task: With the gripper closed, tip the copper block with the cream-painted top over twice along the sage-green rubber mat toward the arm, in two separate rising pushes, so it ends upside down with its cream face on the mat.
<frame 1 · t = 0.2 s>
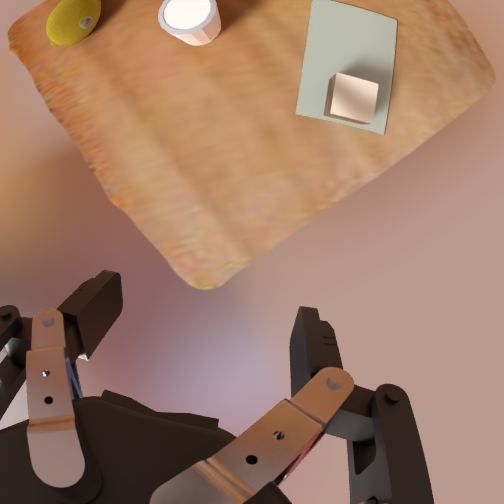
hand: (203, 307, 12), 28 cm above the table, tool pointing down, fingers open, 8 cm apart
copper block: (345, 101, 33), resting on rubber mat
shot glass: (200, 28, 30), on the table
lemon: (89, 23, 29), on the table
rubber mat: (350, 61, 31), on the table
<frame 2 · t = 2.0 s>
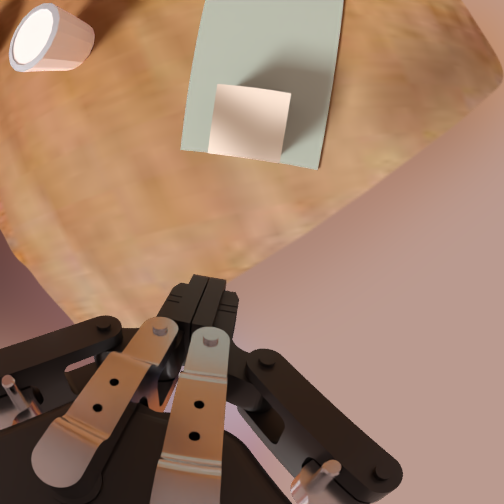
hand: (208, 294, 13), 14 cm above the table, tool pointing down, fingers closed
copper block: (253, 123, 23), resting on rubber mat
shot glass: (74, 46, 20), on the table
rubber mat: (264, 59, 21), on the table
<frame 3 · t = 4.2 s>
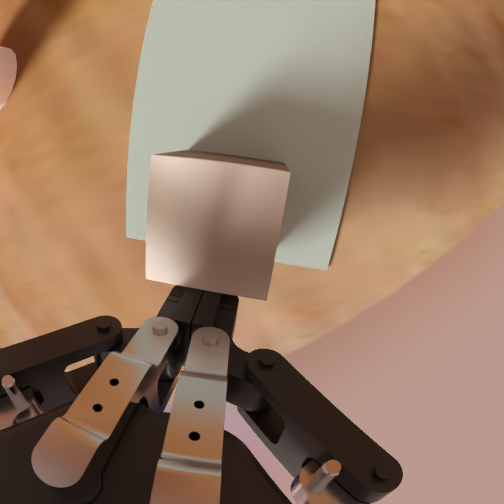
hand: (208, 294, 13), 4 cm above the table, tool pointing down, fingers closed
copper block: (228, 202, 15), resting on rubber mat, touching gripper
rubber mat: (245, 90, 13), on the table
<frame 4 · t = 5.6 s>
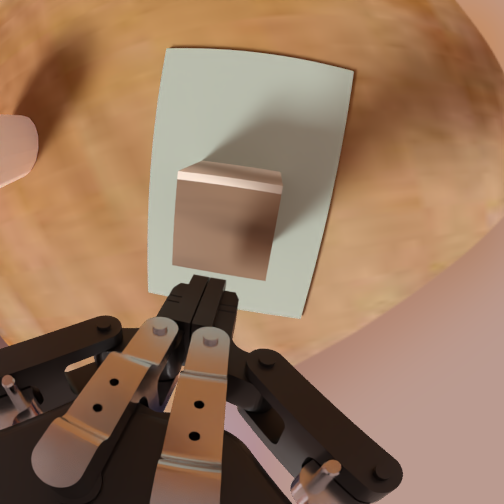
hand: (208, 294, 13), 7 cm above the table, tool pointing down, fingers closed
copper block: (225, 254, 18), point 3 cm above the table, tilted 90°, touching rubber mat
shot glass: (20, 146, 18), on the table
rubber mat: (238, 187, 19), on the table
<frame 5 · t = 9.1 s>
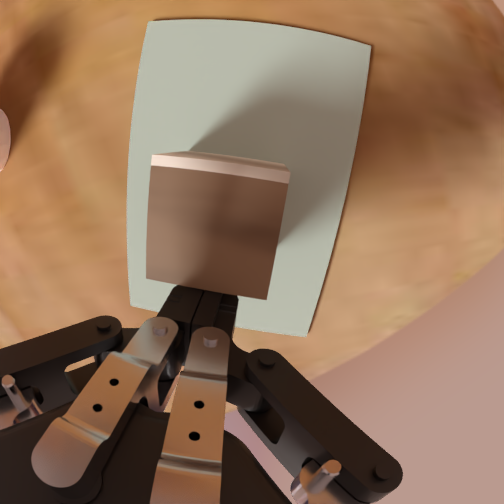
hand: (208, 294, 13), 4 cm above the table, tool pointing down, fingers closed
copper block: (215, 265, 14), point 3 cm above the table, tilted 93°, touching gripper, rubber mat
rubber mat: (232, 183, 15), on the table
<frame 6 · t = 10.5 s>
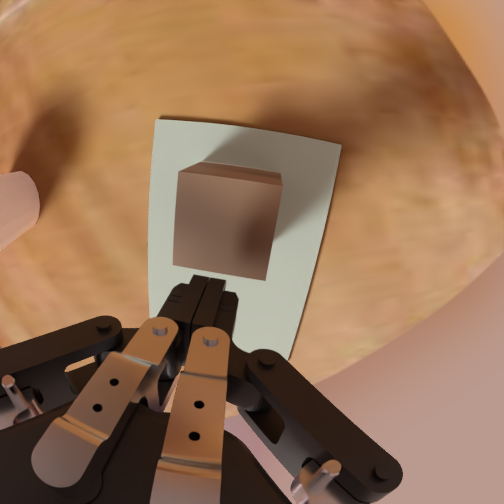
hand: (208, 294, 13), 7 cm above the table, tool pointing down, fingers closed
copper block: (223, 228, 14), point 5 cm above the table, tilted 180°, touching rubber mat
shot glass: (22, 200, 20), on the table
rubber mat: (229, 257, 21), on the table
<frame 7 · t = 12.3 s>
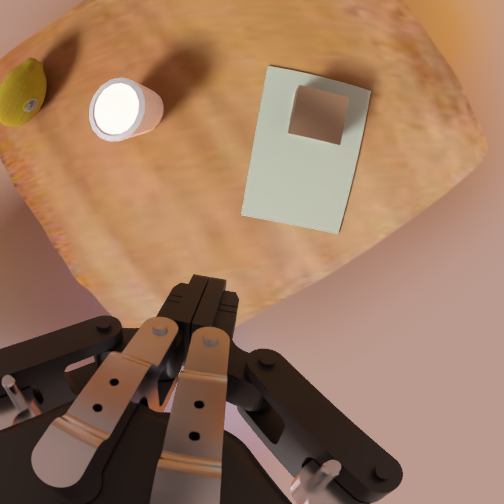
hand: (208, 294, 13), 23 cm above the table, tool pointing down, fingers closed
copper block: (320, 114, 25), point 5 cm above the table, tilted 180°, touching rubber mat
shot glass: (143, 111, 31), on the table
lemon: (39, 94, 30), on the table
rubber mat: (306, 150, 32), on the table
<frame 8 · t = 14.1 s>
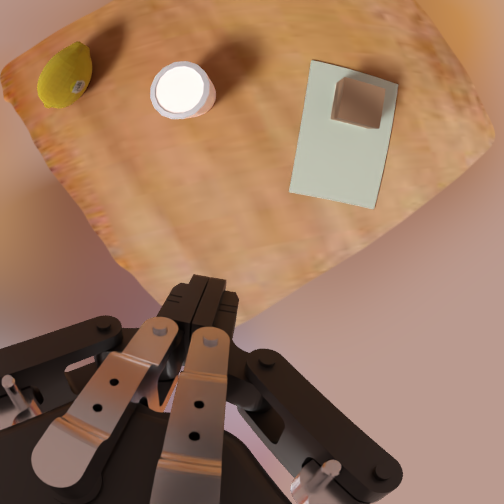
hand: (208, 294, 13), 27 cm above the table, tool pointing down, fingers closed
copper block: (362, 102, 28), point 5 cm above the table, tilted 180°, touching rubber mat
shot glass: (195, 96, 34), on the table
lemon: (81, 79, 33), on the table
rubber mat: (346, 134, 35), on the table
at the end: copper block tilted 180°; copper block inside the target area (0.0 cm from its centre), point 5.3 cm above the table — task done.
